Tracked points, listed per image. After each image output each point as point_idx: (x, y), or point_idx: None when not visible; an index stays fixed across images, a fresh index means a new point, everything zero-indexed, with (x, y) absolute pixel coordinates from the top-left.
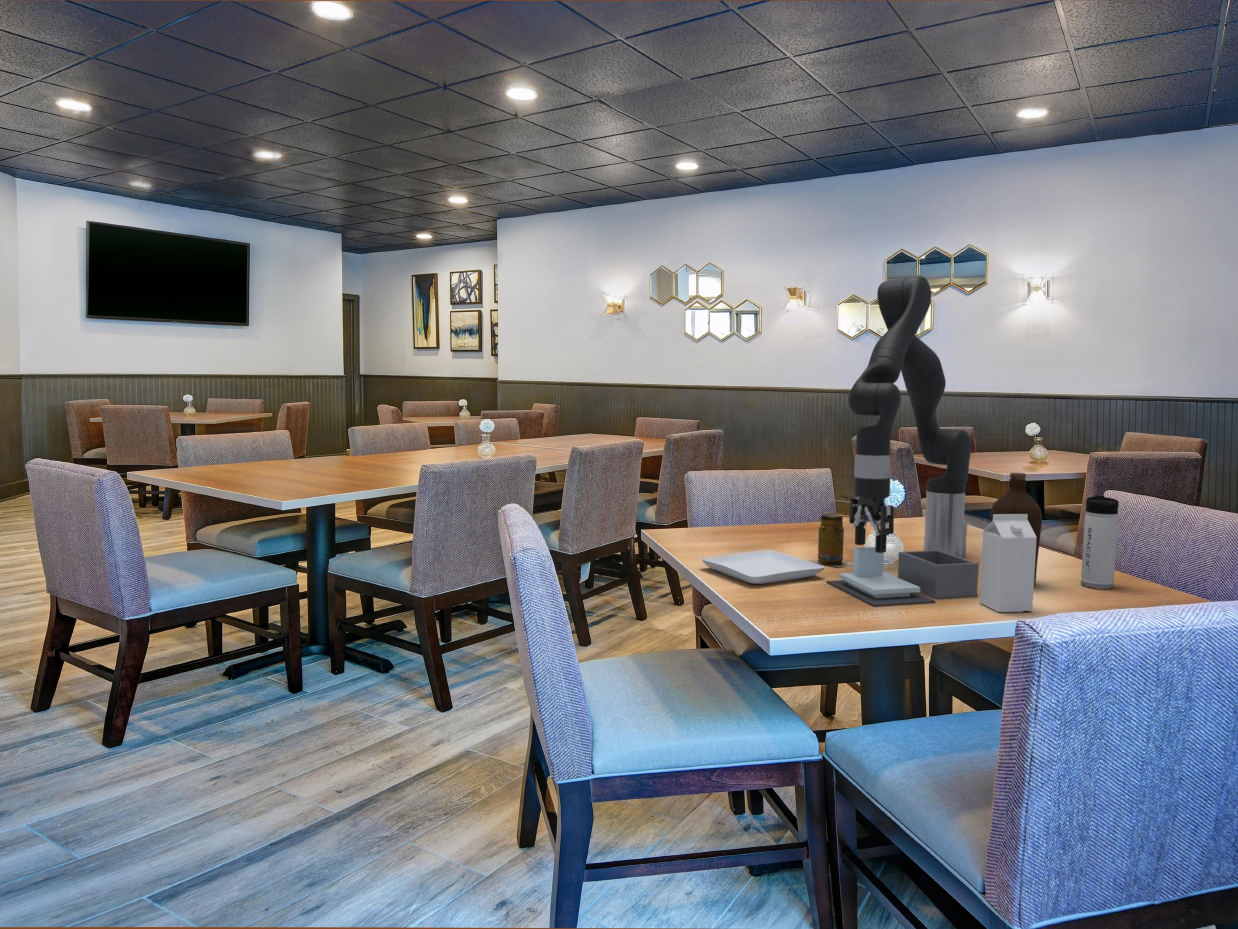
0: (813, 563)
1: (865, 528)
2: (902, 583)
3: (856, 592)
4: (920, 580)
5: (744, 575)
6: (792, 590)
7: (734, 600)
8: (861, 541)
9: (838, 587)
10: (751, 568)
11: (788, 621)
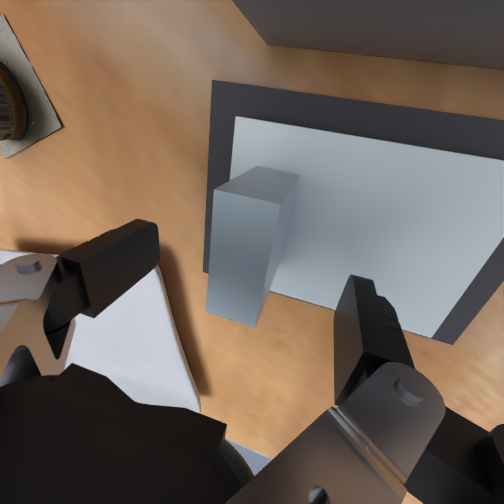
0: None
1: (79, 263)
2: (439, 192)
3: None
4: (459, 48)
5: None
6: (240, 361)
7: (263, 447)
8: (147, 247)
9: None
10: (91, 323)
11: None
